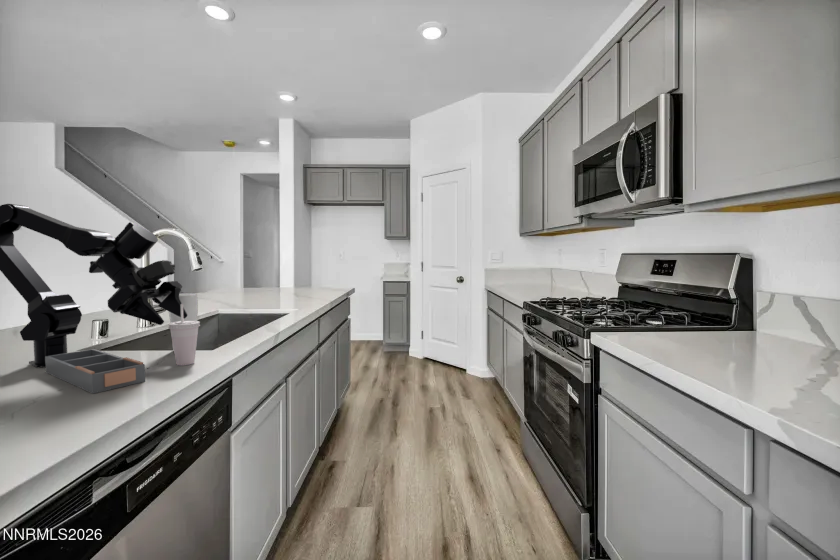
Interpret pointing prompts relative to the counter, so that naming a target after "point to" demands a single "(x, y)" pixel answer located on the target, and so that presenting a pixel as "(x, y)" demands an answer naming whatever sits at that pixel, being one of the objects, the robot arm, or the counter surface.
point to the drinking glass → (187, 308)
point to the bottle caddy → (95, 370)
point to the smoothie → (184, 339)
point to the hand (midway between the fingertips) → (174, 320)
